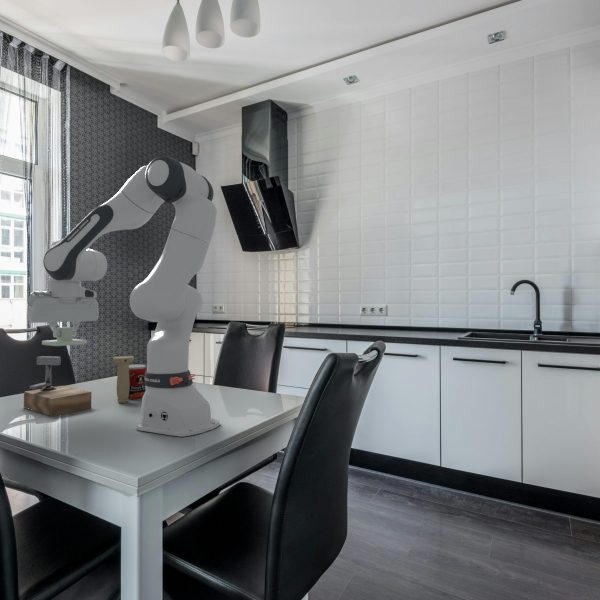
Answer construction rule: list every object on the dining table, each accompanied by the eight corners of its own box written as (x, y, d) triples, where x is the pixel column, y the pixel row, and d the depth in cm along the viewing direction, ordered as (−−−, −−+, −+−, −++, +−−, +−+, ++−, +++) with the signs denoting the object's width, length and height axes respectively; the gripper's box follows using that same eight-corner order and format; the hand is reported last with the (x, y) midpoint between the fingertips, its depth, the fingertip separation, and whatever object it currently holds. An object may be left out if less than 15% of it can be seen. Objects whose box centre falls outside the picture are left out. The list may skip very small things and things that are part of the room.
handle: (110, 402, 139) (111, 357, 139) (130, 399, 142) (131, 355, 143) (114, 405, 135) (115, 358, 135) (135, 402, 139) (135, 357, 139)
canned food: (130, 400, 141) (130, 368, 141) (117, 397, 146) (118, 366, 146) (150, 396, 147) (150, 365, 147) (137, 393, 152) (138, 363, 152)
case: (91, 407, 131) (91, 391, 131) (51, 416, 121) (51, 398, 121) (63, 400, 140) (63, 385, 140) (23, 407, 130) (24, 391, 130)
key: (43, 393, 127) (43, 359, 127) (22, 392, 128) (23, 359, 128) (61, 388, 135) (62, 356, 135) (41, 387, 136) (42, 356, 136)
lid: (86, 343, 130) (86, 327, 130) (57, 346, 123) (57, 328, 123) (71, 342, 135) (71, 326, 135) (41, 344, 128) (42, 327, 128)
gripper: (33, 290, 119) (33, 339, 119) (101, 292, 136) (101, 335, 136) (23, 291, 122) (22, 338, 122) (90, 293, 139) (90, 334, 139)
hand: (64, 336), depth 129 cm, fingers closed on lid, 3 cm apart
